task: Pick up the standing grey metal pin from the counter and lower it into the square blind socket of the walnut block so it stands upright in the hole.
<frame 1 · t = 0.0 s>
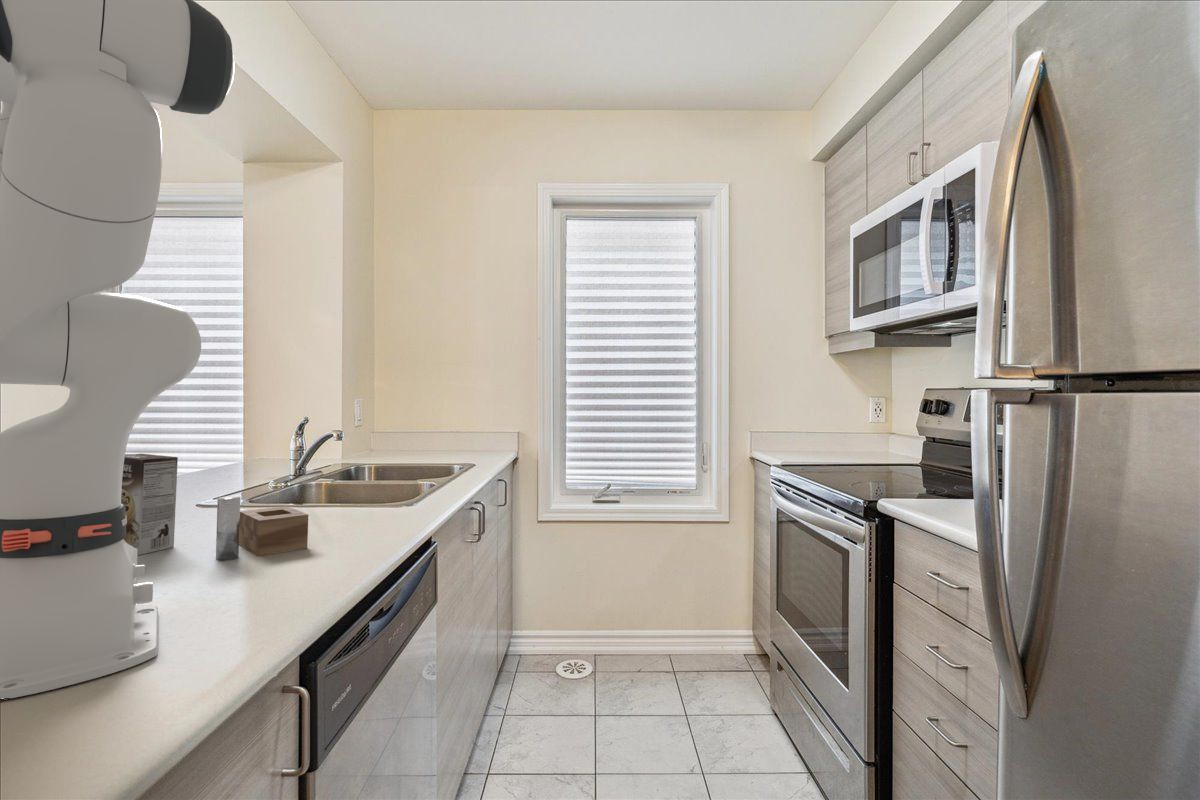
hand: (38, 247, 84), 48 cm above the countertop, fingers open, 8 cm apart
walnut block: (272, 546, 104), on the countertop
steel pin: (227, 557, 96), on the countertop
coffee box: (138, 549, 100), on the countertop
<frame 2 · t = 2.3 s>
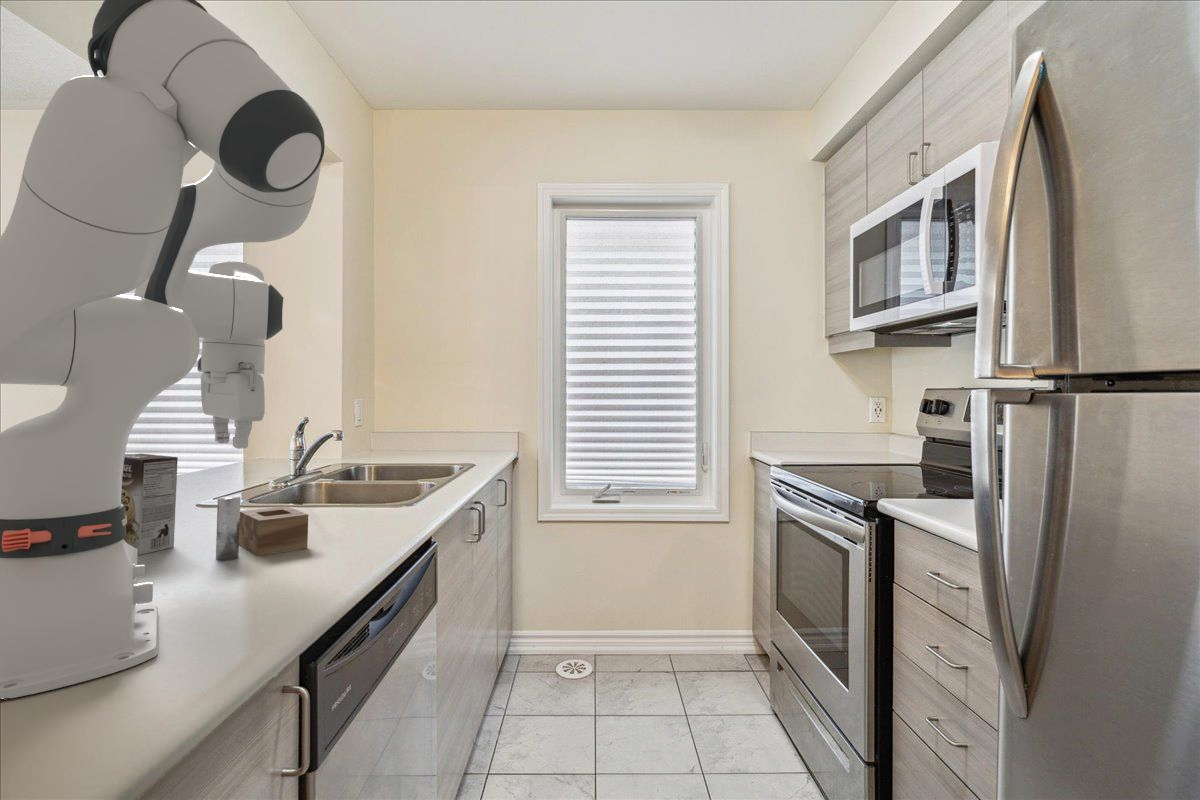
hand: (230, 445, 96), 19 cm above the countertop, fingers open, 8 cm apart
nothing on the countertop moved.
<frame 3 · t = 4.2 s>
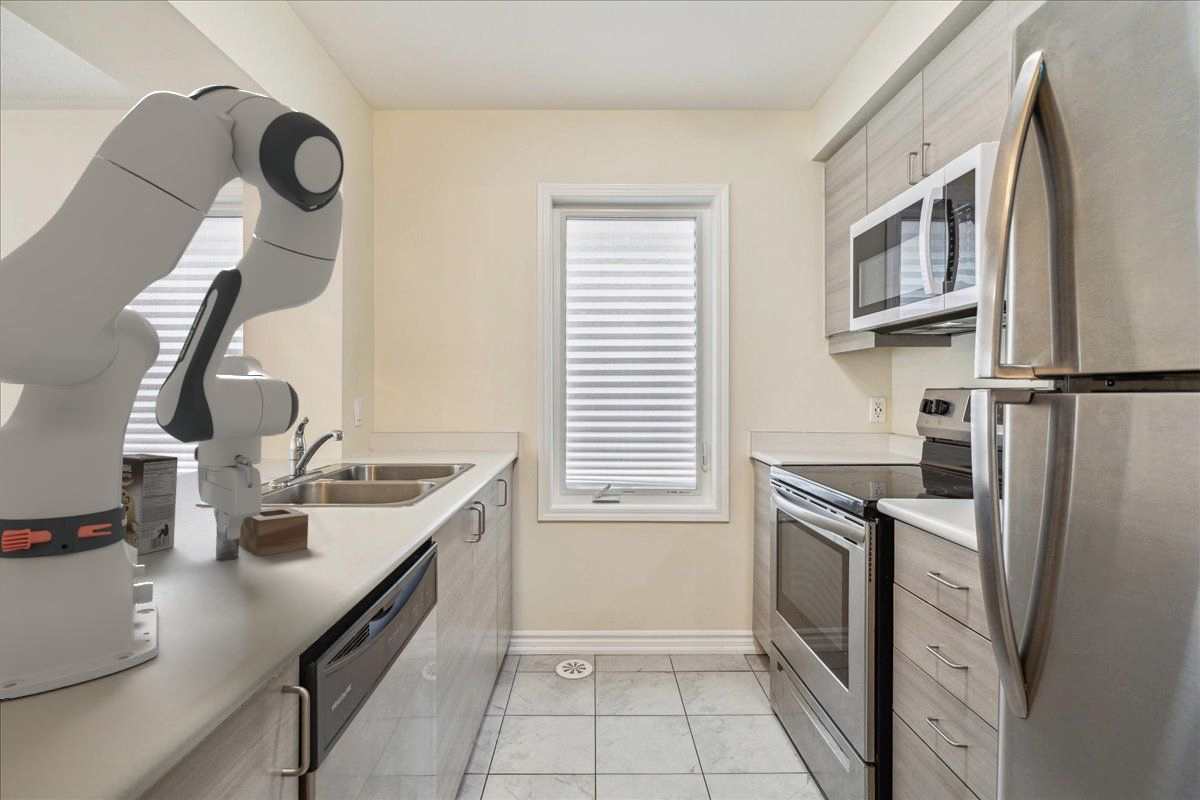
hand: (228, 536, 96), 4 cm above the countertop, fingers closed on steel pin, 3 cm apart
steel pin: (227, 557, 96), on the countertop, touching gripper
everything else where it was.
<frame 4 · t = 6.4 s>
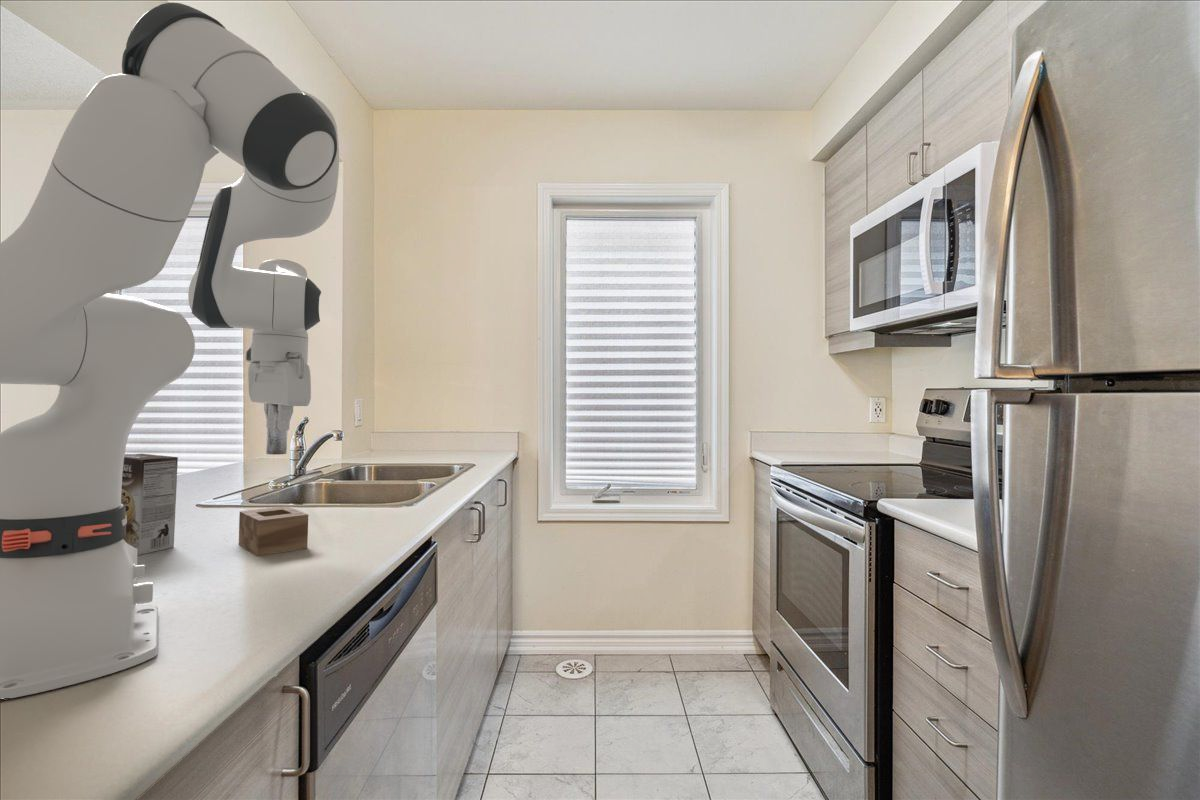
hand: (277, 429, 104), 21 cm above the countertop, fingers closed on steel pin, 3 cm apart
steel pin: (276, 453, 104), point 17 cm above the countertop, touching gripper
everything else where it was.
when the fingers open (7 cm above the countertop, at t = 8.6 s): steel pin stays where it is, resting on walnut block.
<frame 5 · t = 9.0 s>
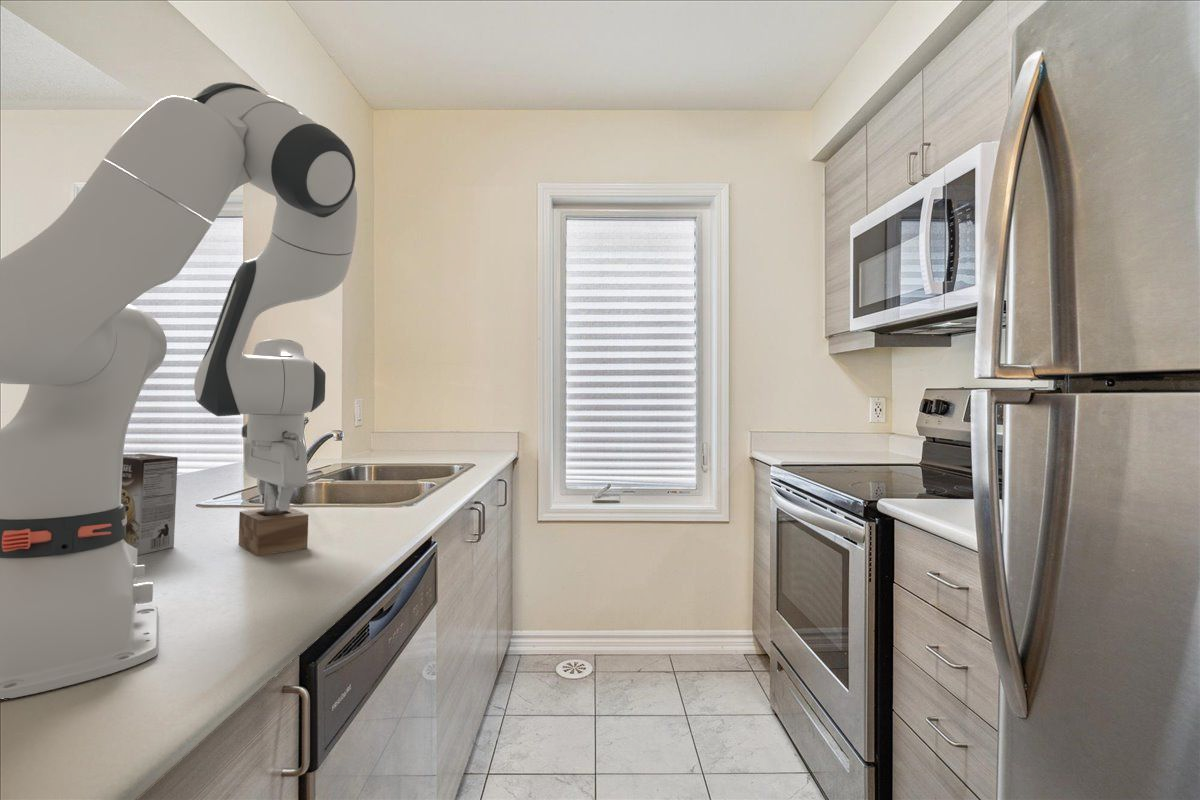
hand: (274, 506, 104), 7 cm above the countertop, fingers open, 7 cm apart
steel pin: (272, 535, 104), point 2 cm above the countertop, touching walnut block
everything else where it was.
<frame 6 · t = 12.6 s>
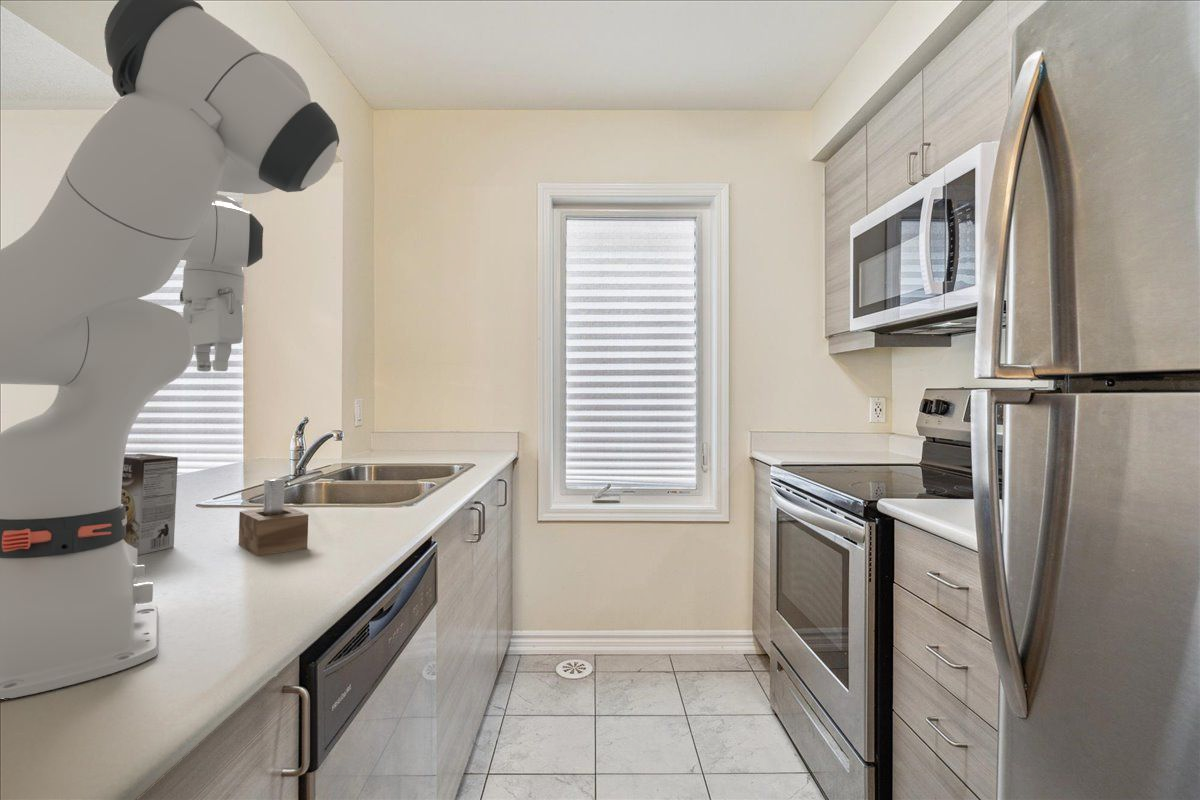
hand: (211, 371, 100), 31 cm above the countertop, fingers open, 8 cm apart
nothing on the countertop moved.
at the end: steel pin 0.1 cm off-centre on the walnut block, point 2.0 cm above the walnut block's base; steel pin tilted 0°; the gripper is holding nothing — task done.
